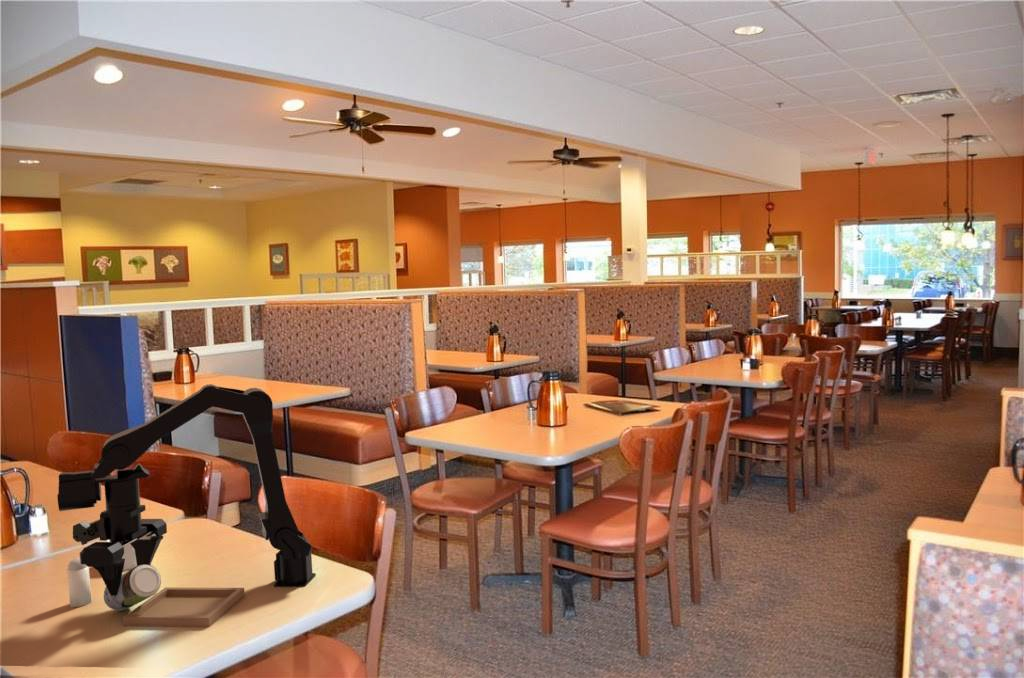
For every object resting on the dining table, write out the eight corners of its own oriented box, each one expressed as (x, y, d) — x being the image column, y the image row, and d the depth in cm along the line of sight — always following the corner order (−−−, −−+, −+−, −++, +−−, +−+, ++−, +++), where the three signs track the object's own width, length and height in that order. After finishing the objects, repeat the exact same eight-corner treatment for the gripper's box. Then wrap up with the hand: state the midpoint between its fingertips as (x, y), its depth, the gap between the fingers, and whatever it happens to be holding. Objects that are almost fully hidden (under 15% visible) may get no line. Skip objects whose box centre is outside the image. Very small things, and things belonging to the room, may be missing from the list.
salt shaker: (95, 599, 156) (92, 554, 156) (83, 607, 153) (80, 561, 152) (78, 599, 157) (74, 554, 156) (65, 606, 153) (62, 561, 152)
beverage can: (127, 584, 141) (86, 599, 147) (159, 607, 145) (117, 620, 150) (145, 554, 146) (104, 569, 151) (175, 577, 150) (134, 590, 155)
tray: (244, 595, 155) (244, 587, 155) (209, 626, 141) (208, 617, 141) (165, 595, 157) (165, 587, 157) (123, 625, 143) (123, 617, 143)
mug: (99, 566, 176) (97, 539, 176) (146, 555, 183) (144, 529, 182) (114, 579, 167) (112, 551, 167) (163, 567, 173) (161, 540, 173)
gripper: (112, 490, 159) (117, 568, 160) (48, 518, 141) (54, 605, 142) (165, 490, 158) (170, 568, 159) (108, 517, 139) (114, 605, 140)
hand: (128, 585), depth 150 cm, fingers open, 9 cm apart
